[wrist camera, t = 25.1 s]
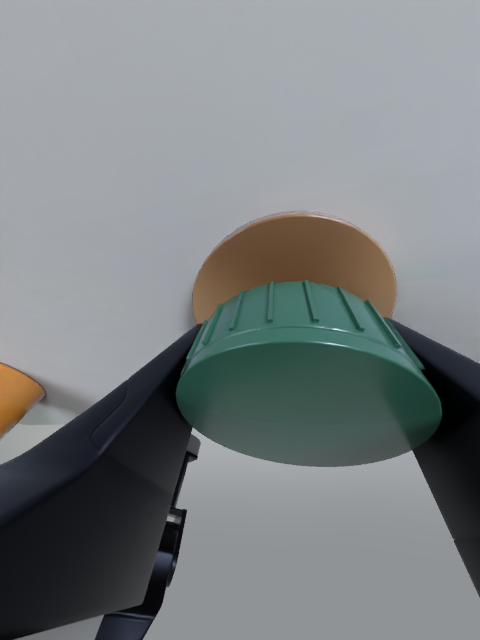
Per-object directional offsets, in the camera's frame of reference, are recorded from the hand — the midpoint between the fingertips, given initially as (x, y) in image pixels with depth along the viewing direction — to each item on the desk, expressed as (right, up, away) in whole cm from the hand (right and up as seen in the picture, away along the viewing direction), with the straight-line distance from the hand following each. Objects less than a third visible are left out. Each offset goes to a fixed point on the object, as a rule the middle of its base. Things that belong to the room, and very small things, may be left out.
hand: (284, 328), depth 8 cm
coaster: (0, +1, +1) cm, 1 cm away
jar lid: (0, -2, -2) cm, 3 cm away
